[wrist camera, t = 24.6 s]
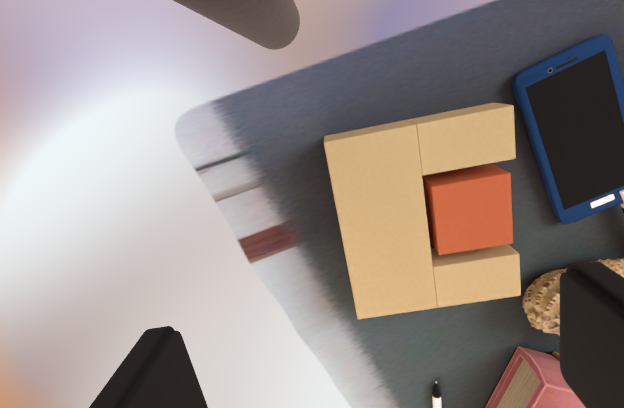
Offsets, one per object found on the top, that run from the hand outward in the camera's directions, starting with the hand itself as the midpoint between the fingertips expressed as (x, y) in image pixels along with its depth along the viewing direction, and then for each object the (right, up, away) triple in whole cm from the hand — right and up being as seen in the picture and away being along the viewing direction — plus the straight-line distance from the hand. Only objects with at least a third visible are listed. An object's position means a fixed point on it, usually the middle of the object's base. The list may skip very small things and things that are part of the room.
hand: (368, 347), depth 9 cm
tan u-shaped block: (+8, +3, +24) cm, 26 cm away
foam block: (+12, +4, +24) cm, 27 cm away
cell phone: (+20, +9, +22) cm, 31 cm away
